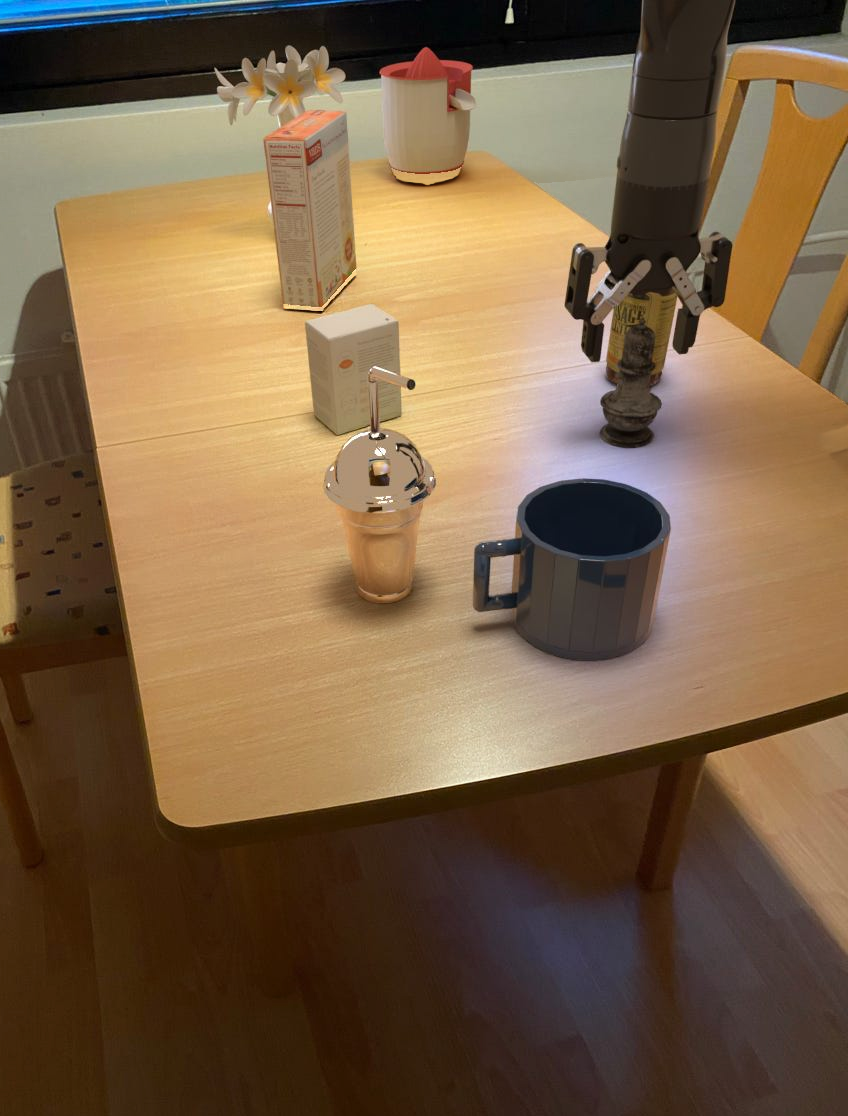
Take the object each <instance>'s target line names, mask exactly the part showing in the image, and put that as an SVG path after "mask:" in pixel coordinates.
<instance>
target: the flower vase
mask: <svg viewBox="0 0 848 1116" xmlns="http://www.w3.org/2000/svg"><path fill="white" fill-rule="evenodd" d="M285 55H286V59H287V62H285V63H283V62H281V61H280V62H278V63H276V62H277V61H276V52H275V50H271V51H270V53H269V55H268V57H267V60H266V58H264V57H262V58H261V59H259V61H258V63H257V66H256V69H255V67H254V65H253V64H252V62H251V60H250V59H249V58H247V57H244V58H243V59H242V60H241V71H242V75H243V77H244V79H245V80H246V81H243V82H239V83H237V84H236V85H235V86H234V85H233V84H232V83H230V82H229V81H228V80H227V79H226V78H225V77H224V75H223V74H222V73H220V72H219V70H218V69H217V68H216V67H214V73H215V74H216V76H217V79H218V81H219V82H220V83H221V85H223V86H221V85H220V86H217V88H216V92H217V95H218V97H219V98H220V99H221V101H222V102H224V103H229V104H228V106H227V116H228V122H229V124H230V126H233V124H234V122H237V113H238V108H239V104H240V100H241V99H244V98H246V99H245V100H244V102H243V108H242V114H243V116H245V117H246V116H248V115H249V114H250V113H251V111H252V109H253V107H254V106H255V104H256V103H257V101H258V100H264V99H265V98H267V97H268V96H271V97H272V98H271V101H270V103H269V105H268V109H267V112H268V114H269V116H270V117H276V118H277V121H278V126H279V128H281V127H282V126H284V125H285V124H287V123H289V122H290V121H292V120H293V119H295V118H296V117H298V116H300V115H301V114H303V113H304V112H306V107H305V105H304V103H303V102H304V98H309V97H311V96H313V95H314V94H315V93H317V94H318V95H319V96H324V95H325V94H327V95H329V96H330V97H331V98H332V99H333V100H334V101H336V102H337V104H338V103H339V104H343V102H344V101H343V100H344V99H343V96H342V94H341V92H340V91H339V89H338V88H337V87H336V86H334V85H339V84H341V83H342V82H345V80H346V73H345V71H344V70H343V69H341V68H338V67H332V68H329V64H330V58H329V57H330V56H329V53H328V50H327V48H326V47H325V46H324V45H321V47H320V48H319V50H318V49H313V50H311V51H309V52H308V53H307V54H306V55H305V56H304V58H303V60H302V58H301V55H300V54H299V52H298V51H297V49H296V48H294V47H293V46H292V45H286V46H285ZM328 68H329V69H328ZM267 219H268V221H269V223H270V224H271V225H272V226H273V227H274V224H273V216H272V207H271V200H269V202H268V206H267Z"/></svg>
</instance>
